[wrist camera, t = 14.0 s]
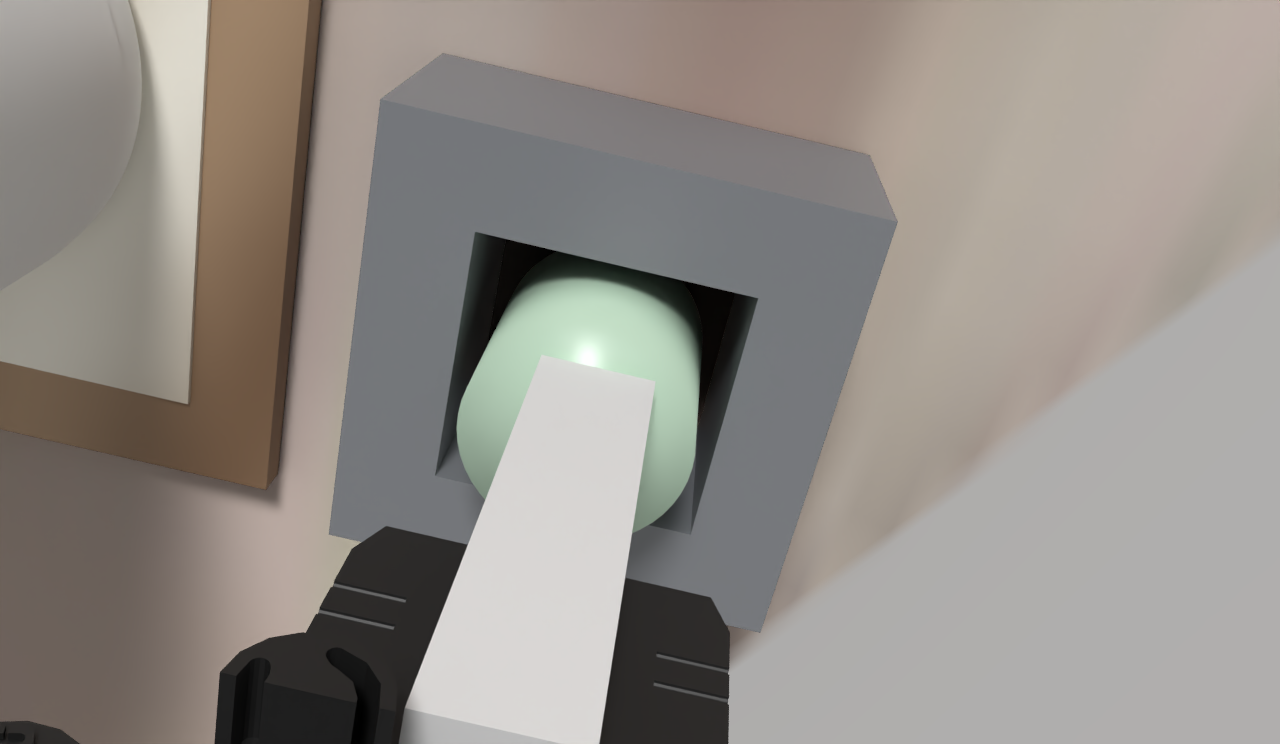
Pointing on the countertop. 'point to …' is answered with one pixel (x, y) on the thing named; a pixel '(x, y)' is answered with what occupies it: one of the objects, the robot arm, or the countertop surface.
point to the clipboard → (181, 256)
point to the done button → (592, 364)
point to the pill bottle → (62, 121)
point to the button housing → (622, 235)
